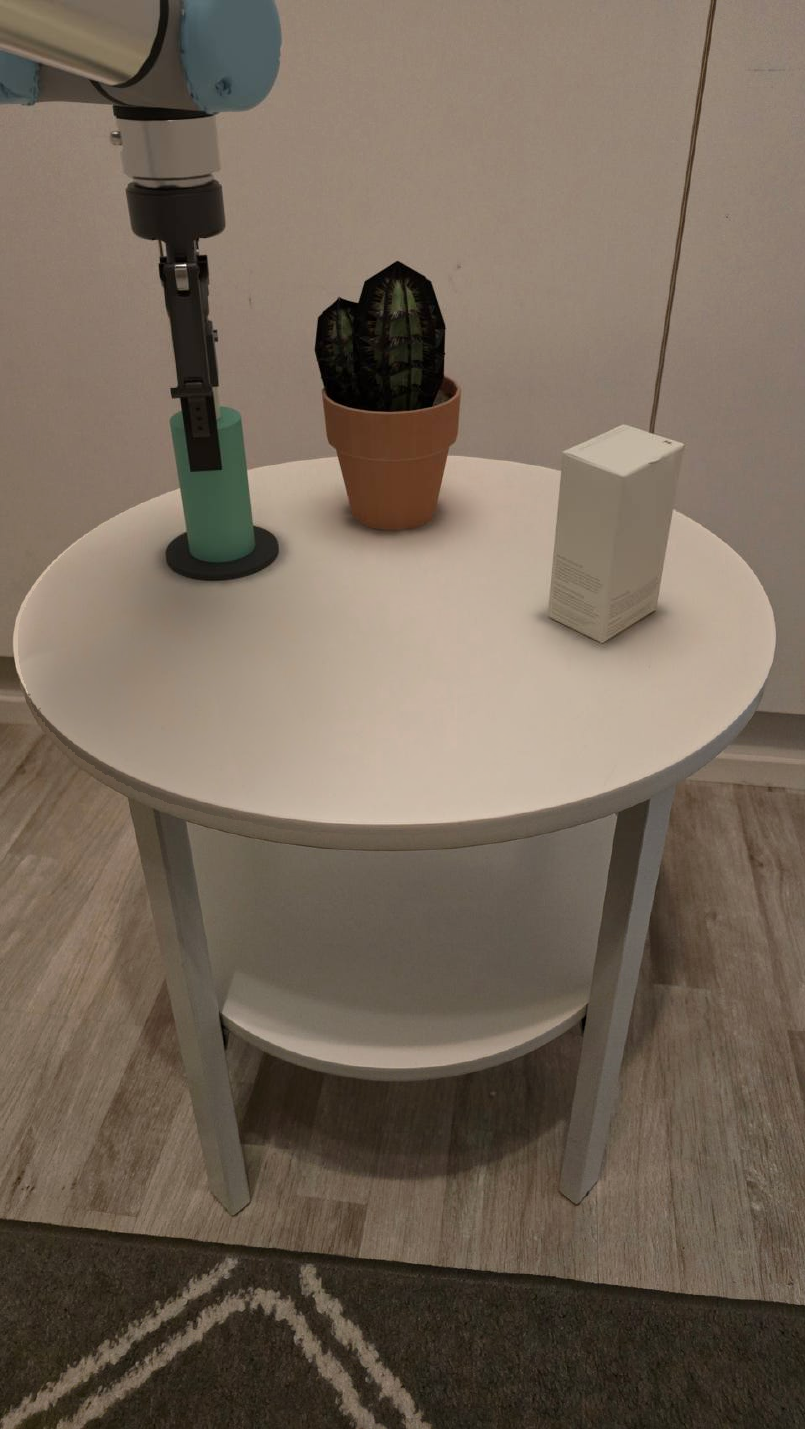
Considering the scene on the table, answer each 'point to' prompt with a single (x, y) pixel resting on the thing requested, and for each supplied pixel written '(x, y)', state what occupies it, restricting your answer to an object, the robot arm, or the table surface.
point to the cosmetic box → (612, 530)
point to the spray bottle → (216, 483)
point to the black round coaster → (199, 569)
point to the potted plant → (388, 397)
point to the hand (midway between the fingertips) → (206, 441)
